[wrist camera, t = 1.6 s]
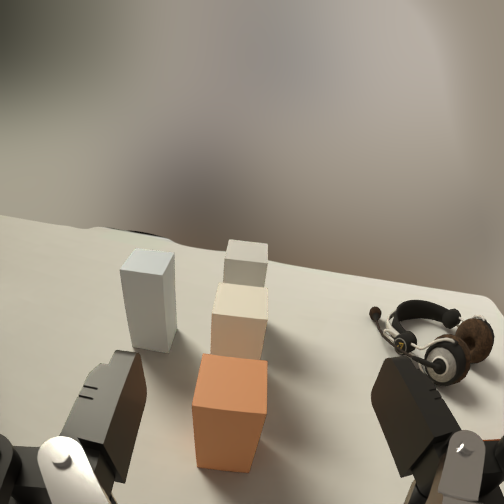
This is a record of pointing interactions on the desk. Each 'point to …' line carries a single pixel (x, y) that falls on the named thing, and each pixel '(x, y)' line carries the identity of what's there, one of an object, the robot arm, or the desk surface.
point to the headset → (439, 340)
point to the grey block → (245, 263)
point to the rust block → (229, 411)
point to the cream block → (239, 321)
